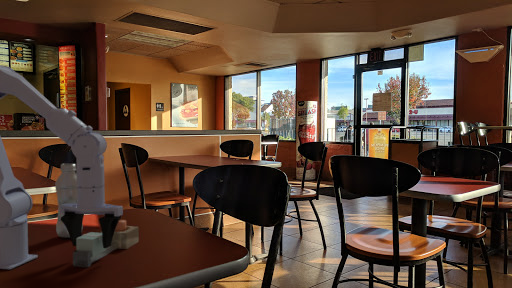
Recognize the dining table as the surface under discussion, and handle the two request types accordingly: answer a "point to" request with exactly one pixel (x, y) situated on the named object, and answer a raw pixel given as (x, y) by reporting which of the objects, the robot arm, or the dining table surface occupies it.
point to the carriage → (90, 243)
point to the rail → (85, 256)
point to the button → (121, 226)
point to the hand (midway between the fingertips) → (91, 245)
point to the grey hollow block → (126, 237)
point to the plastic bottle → (66, 194)
